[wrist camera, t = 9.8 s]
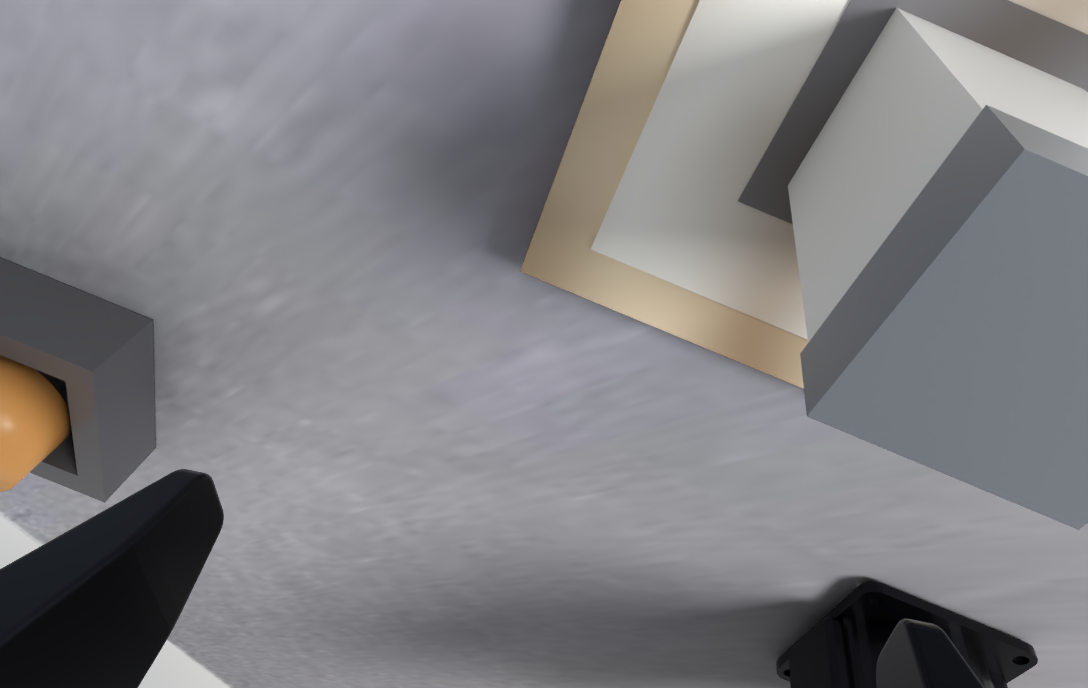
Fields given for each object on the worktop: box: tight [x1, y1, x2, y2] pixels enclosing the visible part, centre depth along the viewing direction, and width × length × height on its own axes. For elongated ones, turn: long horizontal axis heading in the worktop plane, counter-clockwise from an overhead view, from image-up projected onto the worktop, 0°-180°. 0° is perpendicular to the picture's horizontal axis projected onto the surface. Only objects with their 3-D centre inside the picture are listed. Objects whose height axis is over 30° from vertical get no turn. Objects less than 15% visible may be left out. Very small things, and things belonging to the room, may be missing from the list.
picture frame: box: [520, 0, 1088, 389], centre depth 16 cm, size 14×14×1 cm
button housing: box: [0, 258, 156, 502], centre depth 26 cm, size 7×7×3 cm
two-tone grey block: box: [788, 8, 1088, 530], centre depth 12 cm, size 4×4×8 cm
